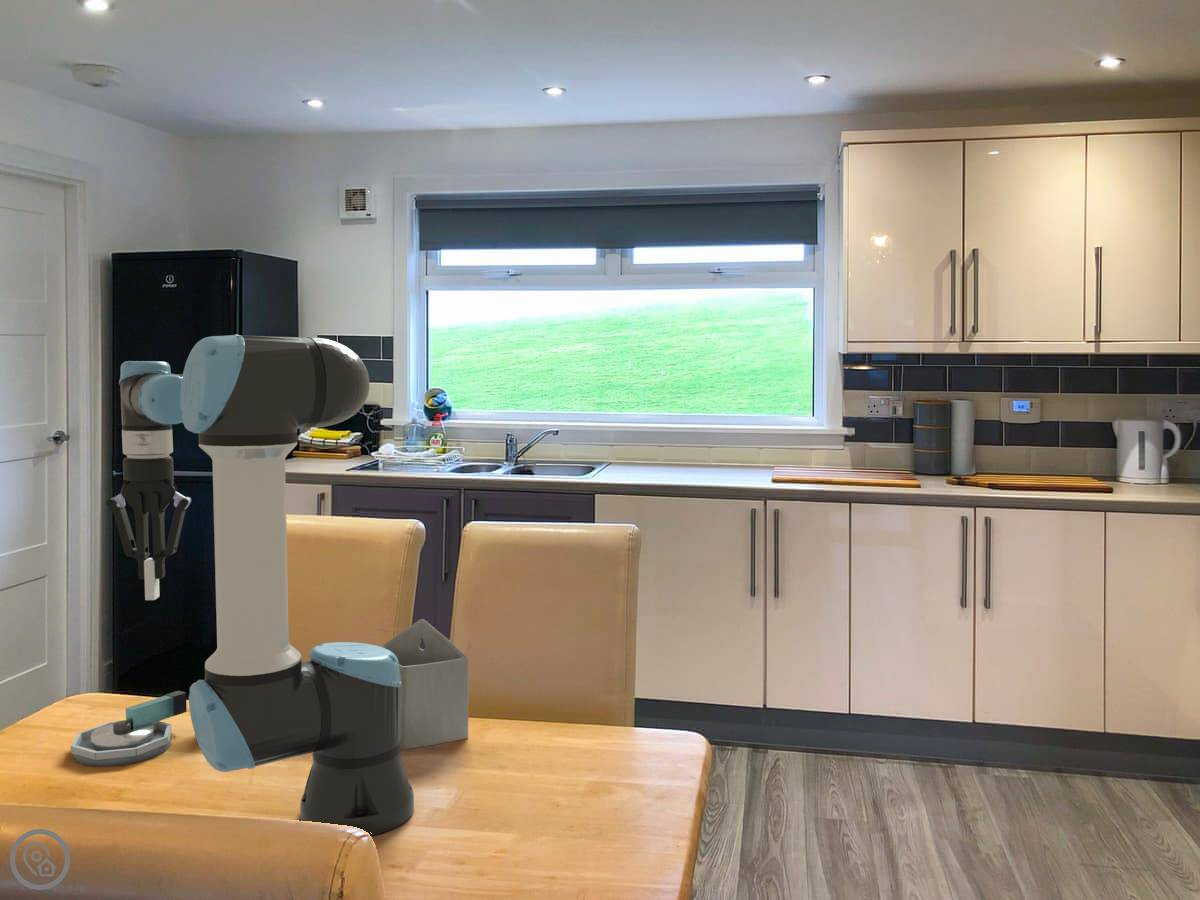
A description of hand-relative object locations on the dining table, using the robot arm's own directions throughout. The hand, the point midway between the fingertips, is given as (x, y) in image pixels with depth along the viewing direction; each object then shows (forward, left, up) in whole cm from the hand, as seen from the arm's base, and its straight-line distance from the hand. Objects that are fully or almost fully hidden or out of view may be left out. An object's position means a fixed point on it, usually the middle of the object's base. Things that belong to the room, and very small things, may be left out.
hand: (152, 598), depth 167 cm
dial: (-2, +5, -21) cm, 22 cm away
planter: (-40, -17, -23) cm, 49 cm away
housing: (-2, +8, -22) cm, 24 cm away
